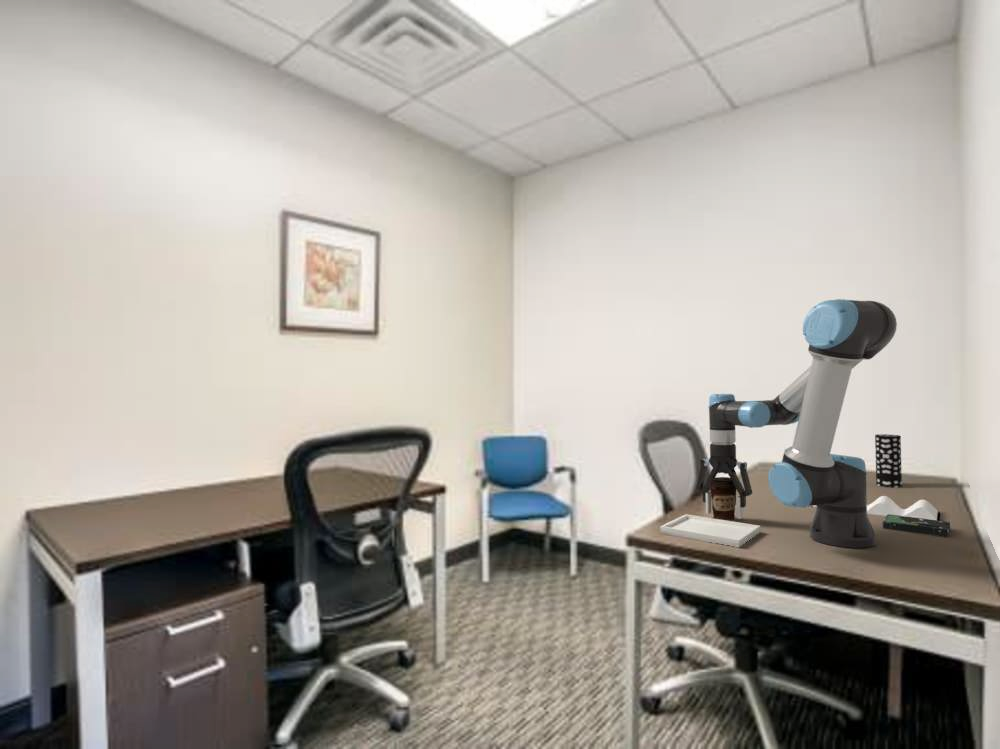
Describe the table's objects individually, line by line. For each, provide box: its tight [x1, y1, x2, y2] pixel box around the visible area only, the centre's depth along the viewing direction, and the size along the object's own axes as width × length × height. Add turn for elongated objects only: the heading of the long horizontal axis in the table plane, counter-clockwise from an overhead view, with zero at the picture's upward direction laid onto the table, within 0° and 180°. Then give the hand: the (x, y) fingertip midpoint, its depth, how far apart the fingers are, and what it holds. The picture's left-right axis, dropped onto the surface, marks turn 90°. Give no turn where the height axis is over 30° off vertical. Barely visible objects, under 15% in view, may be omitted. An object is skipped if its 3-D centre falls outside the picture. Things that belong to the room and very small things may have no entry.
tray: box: [659, 513, 762, 548], centre depth 158 cm, size 22×18×2 cm
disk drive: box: [882, 514, 951, 538], centre depth 158 cm, size 10×3×15 cm
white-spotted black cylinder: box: [874, 433, 903, 489], centre depth 219 cm, size 8×8×20 cm
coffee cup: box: [709, 476, 737, 522], centre depth 172 cm, size 9×8×13 cm
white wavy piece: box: [812, 495, 941, 521], centre depth 181 cm, size 13×35×5 cm, turn 51°
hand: (724, 515), depth 172 cm, fingers open, 9 cm apart
